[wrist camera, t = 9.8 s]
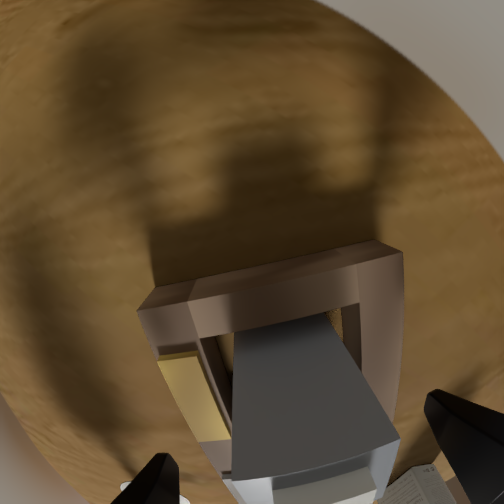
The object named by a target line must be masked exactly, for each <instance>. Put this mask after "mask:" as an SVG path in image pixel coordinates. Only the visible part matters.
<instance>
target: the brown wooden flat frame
mask: <svg viewBox="0 0 504 504" xmlns="http://www.w3.org/2000/svg"><path fill="white" fill-rule="evenodd" d="M337 308H341V313H342V325H343V338H344V345H345V347H346V349H347V350H348V352H349V353H350V355H351V357H352V358H353V360H354V361H355V363H356V365H357V366H358V368H359V369H360V371H361V373H362V374H363V376H364V378H365V379H366V381H367V382H368V384H369V386H370V387H371V389H372V391H373V392H374V394H375V396H376V397H377V399H378V401H379V402H380V404H381V406H382V407H383V409H384V411H385V412H386V414H387V416H388V417H389V419H390V421H391V422H392V424H393V419H394V413H395V407H396V401H397V394H398V386H399V378H400V369H401V358H402V345H403V326H404V269H403V252H402V251H400V250H397V249H395V248H393V247H391V246H388V245H386V244H384V243H381V242H379V241H377V240H370V241H366V242H361V243H357V244H353V245H348V246H344V247H340V248H335V249H331V250H327V251H322V252H318V253H314V254H309V255H305V256H300V257H296V258H291V259H287V260H282V261H278V262H273V263H269V264H264V265H260V266H255V267H250V268H246V269H241V270H237V271H232V272H227V273H223V274H218V275H213V276H208V277H204V278H199V279H194V280H189V281H185V282H180V283H175V284H170V285H165V286H160V287H155V288H154V289H153V291H152V292H151V293H150V294H149V296H148V297H147V298H146V299H145V301H144V302H143V303H142V304H141V306H140V307H139V308H138V310H137V313H138V316H139V319H140V321H141V324H142V326H143V329H144V332H145V334H146V337H147V339H148V341H149V344H150V346H151V349H152V351H153V353H154V356H155V358H156V360H157V363H158V365H159V367H160V369H161V372H162V374H163V376H164V378H165V380H166V382H167V384H168V387H169V389H170V391H171V393H172V395H173V397H174V399H175V401H176V403H177V405H178V406H179V408H180V410H181V412H182V414H183V416H184V418H185V420H186V421H187V423H188V425H189V427H190V429H191V430H192V432H193V434H194V436H195V437H196V439H197V441H198V442H199V444H200V446H201V447H202V449H203V451H204V452H205V454H206V456H207V457H208V459H209V460H210V462H211V463H212V465H213V467H214V468H215V470H216V471H217V473H218V474H219V476H220V477H221V479H222V480H223V482H224V483H225V485H226V486H227V488H228V489H229V490H230V492H231V493H232V495H233V496H234V497H235V499H236V500H237V501H238V503H239V504H247V503H246V502H245V501H244V499H243V498H242V496H241V495H240V494H239V492H238V491H237V489H236V488H235V486H234V485H233V483H232V482H231V461H232V398H233V390H232V387H231V384H230V382H229V379H228V376H227V373H226V370H225V367H224V364H223V361H222V358H221V355H220V352H219V349H218V346H217V343H216V340H215V336H216V335H222V334H227V333H232V332H238V331H243V330H248V329H253V328H258V327H262V326H267V325H272V324H276V323H281V322H285V321H289V320H294V319H298V318H302V317H306V316H310V315H314V314H318V313H322V312H326V311H330V310H333V309H337Z"/></svg>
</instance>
